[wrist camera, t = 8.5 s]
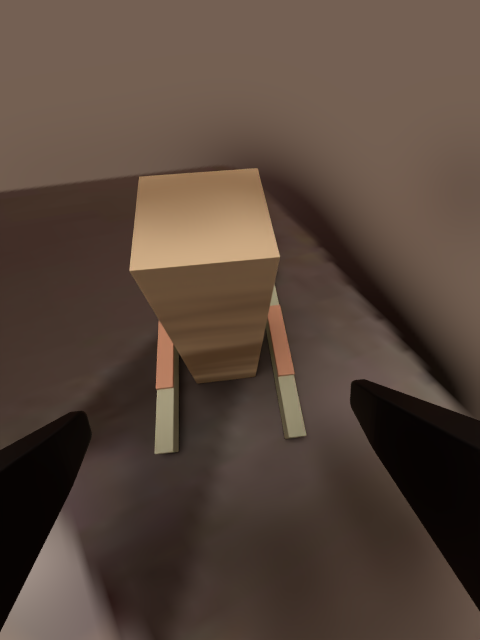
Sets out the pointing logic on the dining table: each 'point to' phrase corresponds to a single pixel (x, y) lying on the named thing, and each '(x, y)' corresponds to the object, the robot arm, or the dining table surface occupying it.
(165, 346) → the sage rail
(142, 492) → the dining table surface
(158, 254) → the birch finger
